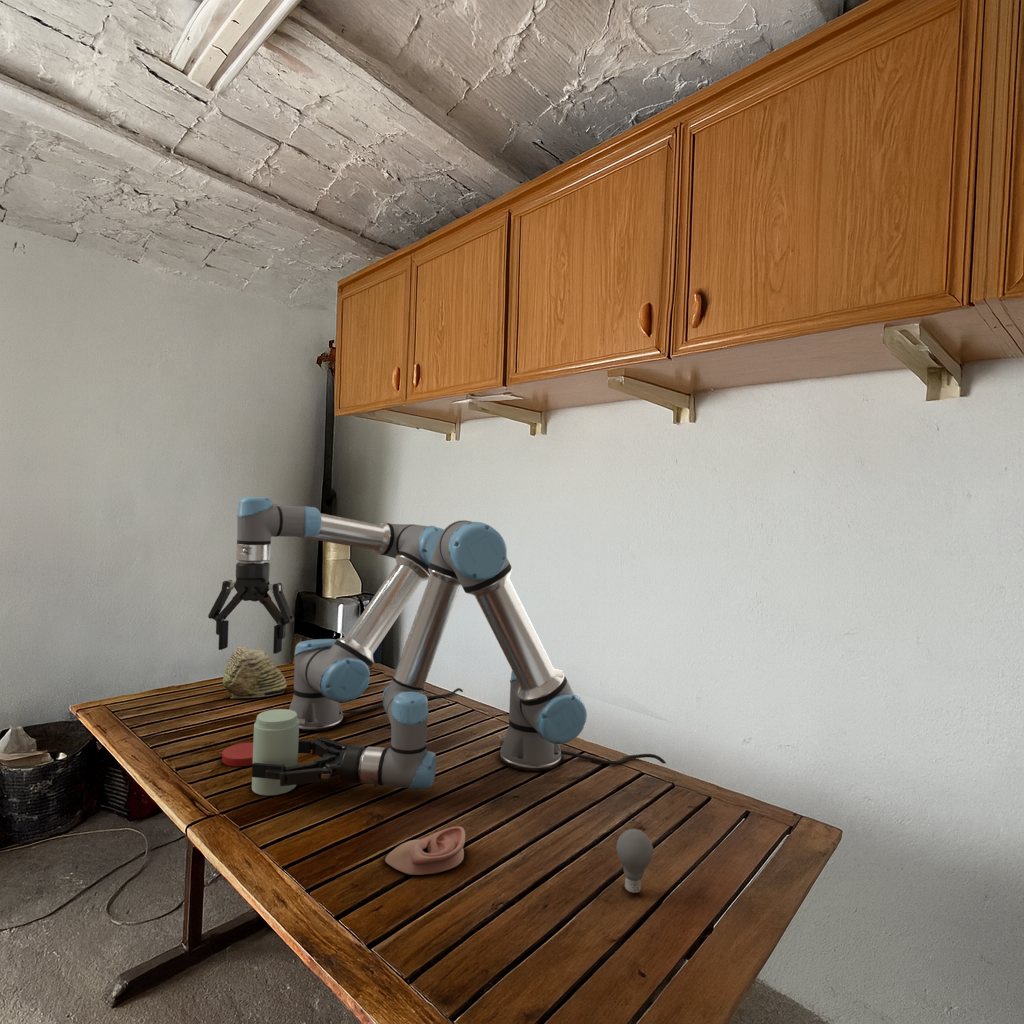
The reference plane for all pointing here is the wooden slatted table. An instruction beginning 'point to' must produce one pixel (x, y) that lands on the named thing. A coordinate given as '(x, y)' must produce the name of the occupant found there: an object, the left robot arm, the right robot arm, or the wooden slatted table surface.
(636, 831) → the light bulb
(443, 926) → the wooden slatted table surface
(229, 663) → the fossil
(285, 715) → the jar
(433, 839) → the anatomical model
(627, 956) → the wooden slatted table surface
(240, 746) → the lid
